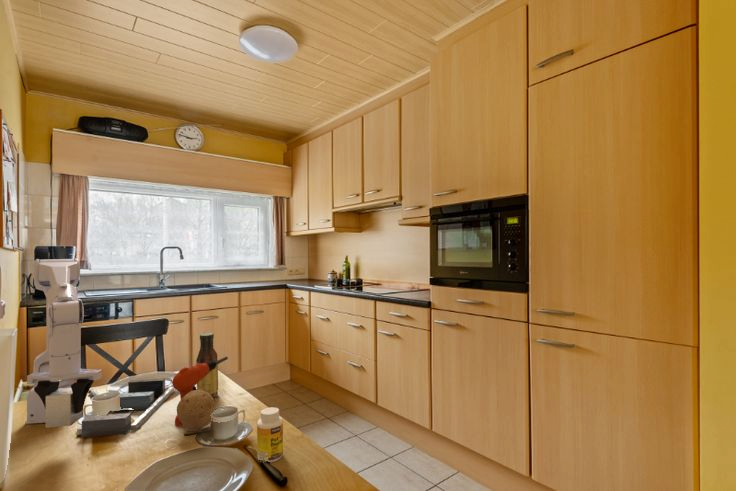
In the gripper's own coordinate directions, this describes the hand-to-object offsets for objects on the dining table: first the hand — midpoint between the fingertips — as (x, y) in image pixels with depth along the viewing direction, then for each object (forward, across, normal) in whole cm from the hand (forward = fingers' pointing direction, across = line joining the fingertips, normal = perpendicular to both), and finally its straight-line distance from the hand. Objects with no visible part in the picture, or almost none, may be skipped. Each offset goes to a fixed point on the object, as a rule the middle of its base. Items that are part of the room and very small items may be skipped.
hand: (65, 412), depth 89 cm
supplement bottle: (+9, +47, -11) cm, 49 cm away
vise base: (+9, +5, +21) cm, 24 cm away
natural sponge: (+9, +27, +6) cm, 29 cm away
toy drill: (+9, +26, +16) cm, 32 cm away
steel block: (+2, 0, 0) cm, 2 cm away
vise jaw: (+9, +5, +28) cm, 29 cm away
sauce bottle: (+9, +24, +29) cm, 39 cm away
